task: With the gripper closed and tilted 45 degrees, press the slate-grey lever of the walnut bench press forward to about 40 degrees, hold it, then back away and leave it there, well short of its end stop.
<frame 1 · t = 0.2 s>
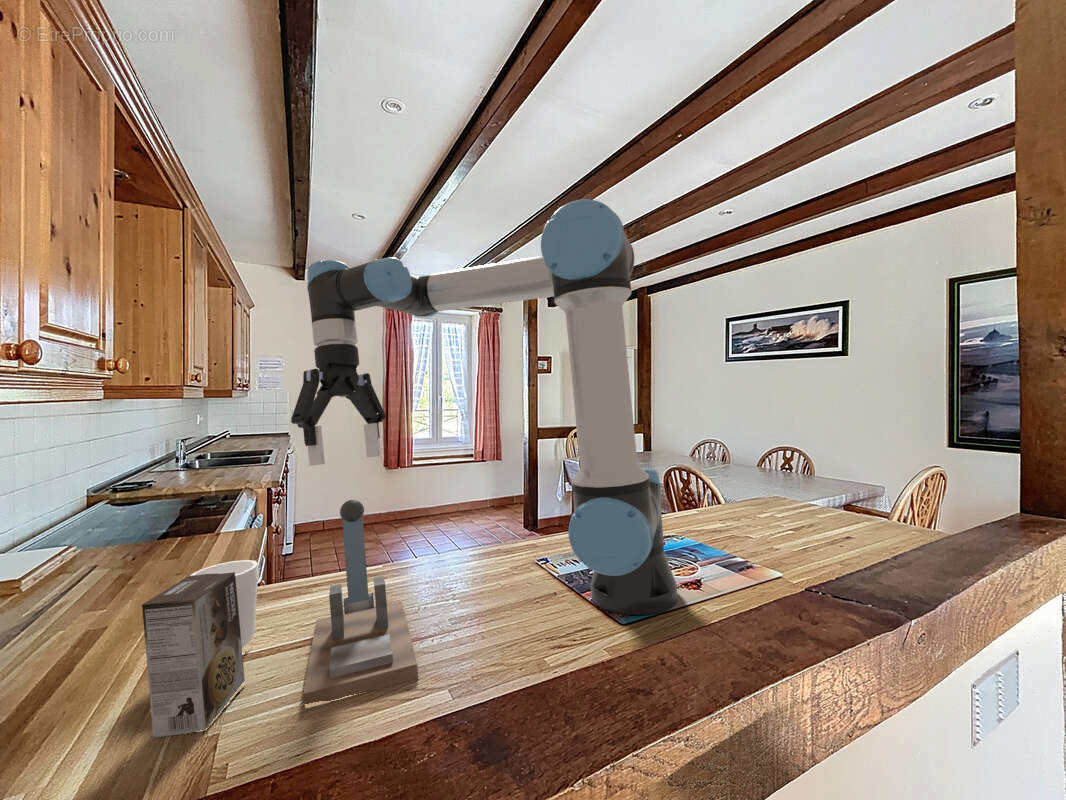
hand: (347, 460, 86), 28 cm above the counter, tool pointing down, fingers open, 13 cm apart
foam cup: (230, 653, 75), on the counter
coffee box: (202, 712, 60), on the counter
lever: (355, 555, 75), point 14 cm above the counter, hinge at 0.0°
press base: (362, 652, 72), on the counter
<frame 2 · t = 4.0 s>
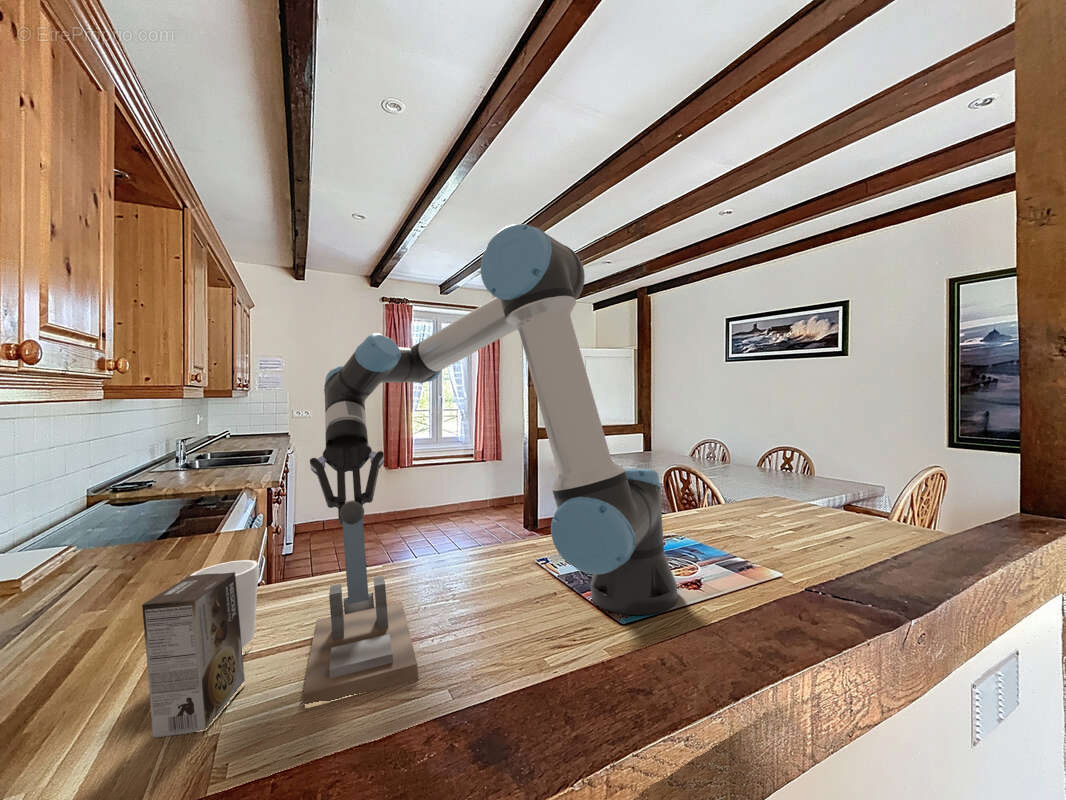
hand: (352, 538, 77), 16 cm above the counter, tool tilted 45°, fingers closed
lever: (355, 556, 75), point 14 cm above the counter, hinge at 4.3°, touching gripper
everything else where it was.
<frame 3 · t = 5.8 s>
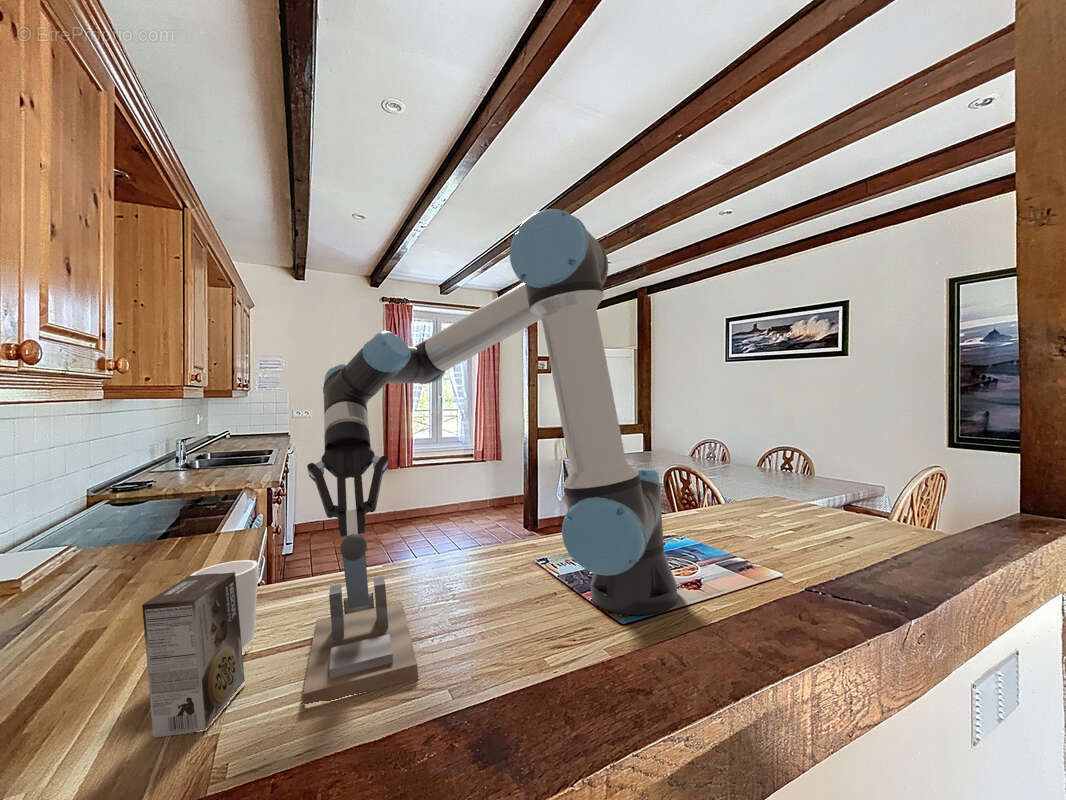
hand: (353, 552, 70), 16 cm above the counter, tool tilted 45°, fingers closed
lever: (356, 575, 71), point 12 cm above the counter, hinge at 38.5°, touching gripper
everything else where it was.
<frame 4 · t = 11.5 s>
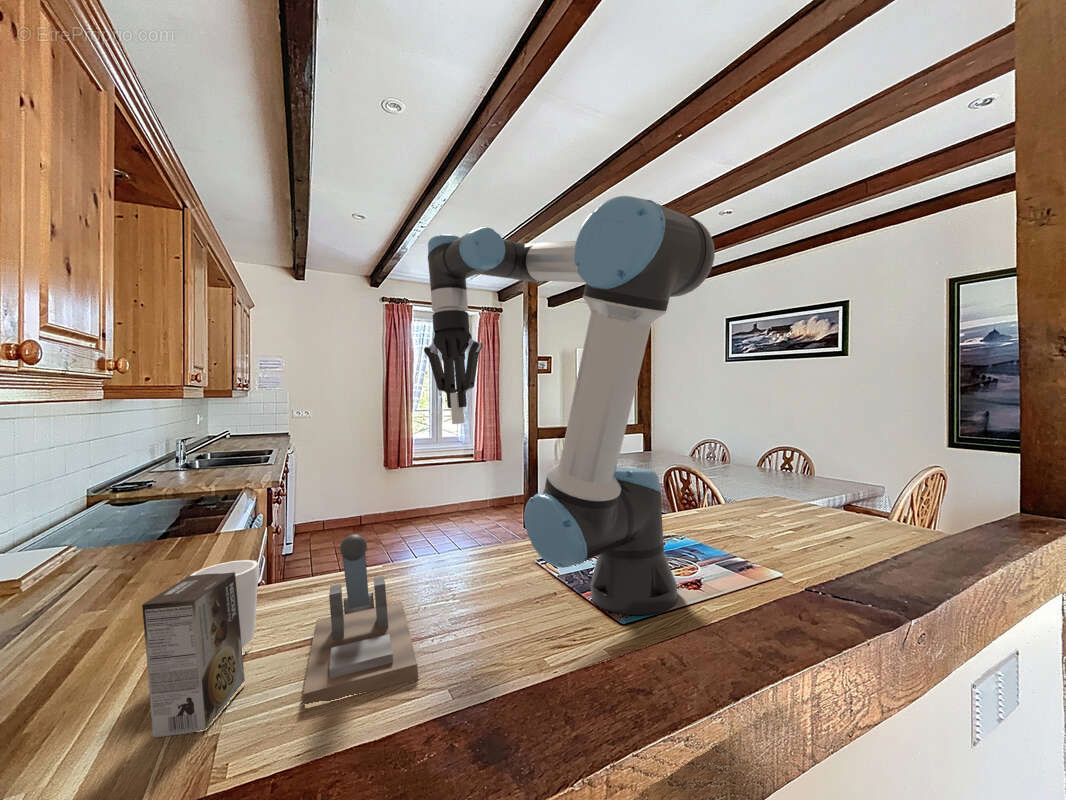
hand: (458, 423, 100), 32 cm above the counter, tool pointing down, fingers closed
lever: (356, 575, 71), point 12 cm above the counter, hinge at 38.6°
everything else where it was.
at the end: lever at +39° (first picture: +0°); coffee box moved 0.2 cm from its start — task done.
